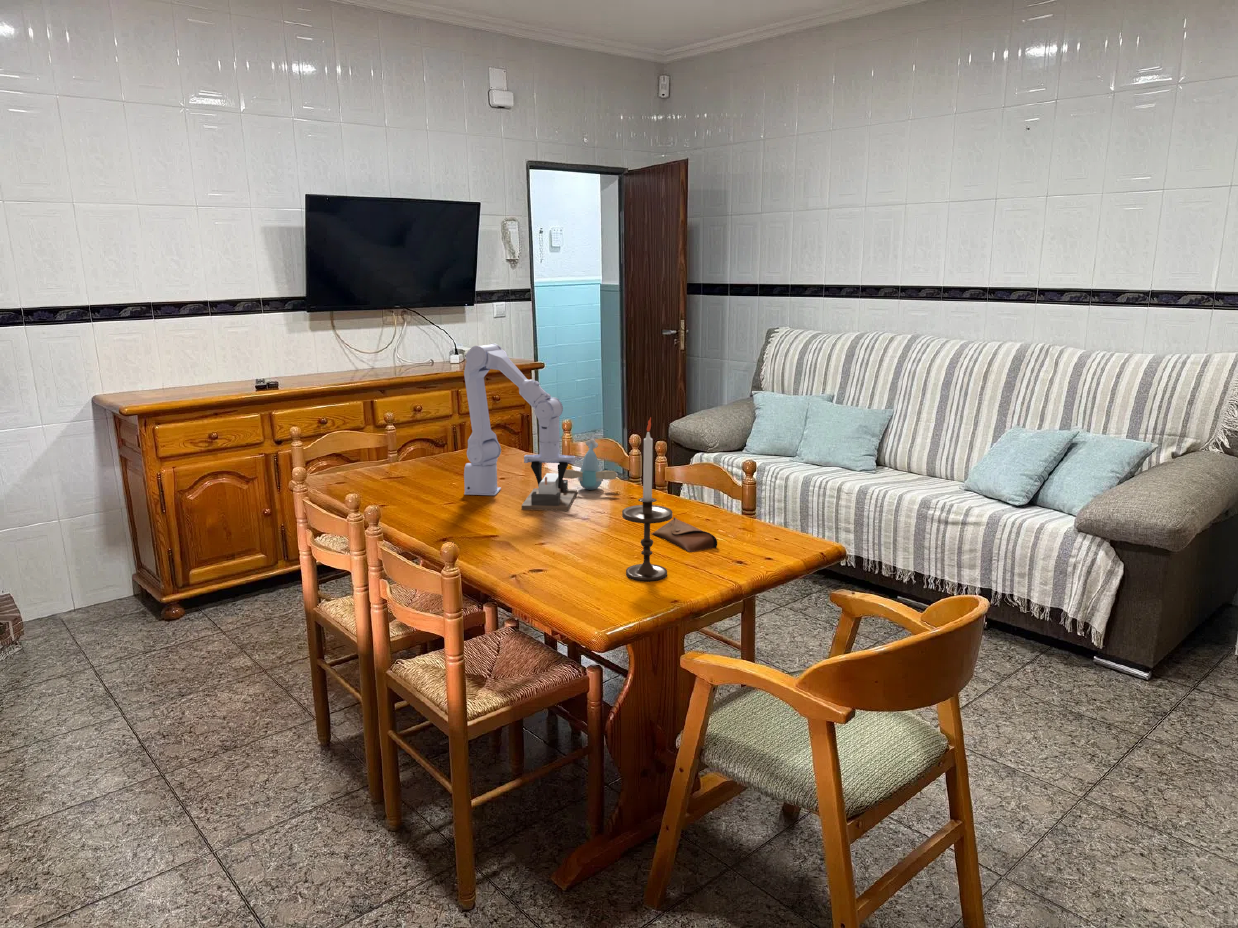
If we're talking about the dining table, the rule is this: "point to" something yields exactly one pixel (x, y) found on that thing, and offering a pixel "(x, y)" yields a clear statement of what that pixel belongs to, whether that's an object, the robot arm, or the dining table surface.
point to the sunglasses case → (686, 536)
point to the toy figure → (590, 470)
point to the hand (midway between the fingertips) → (550, 487)
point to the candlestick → (647, 520)
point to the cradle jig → (550, 499)
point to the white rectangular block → (549, 484)
